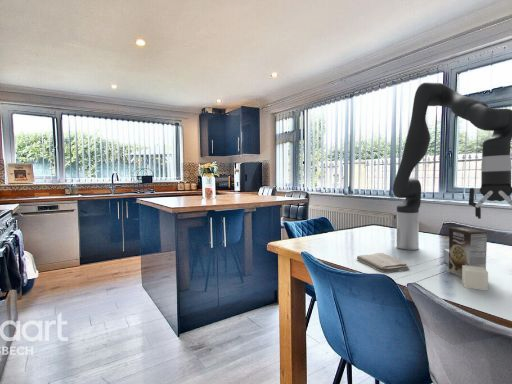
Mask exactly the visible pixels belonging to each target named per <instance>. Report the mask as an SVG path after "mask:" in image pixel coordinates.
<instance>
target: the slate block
mask: <svg viewBox="0 0 512 384" xmlns="http://www.w3.org/2000/svg"><path fill="white" fill-rule="evenodd" d="M443 262H444V263H446V264H447V265H449V248H448V249H447V248H444V249H443Z"/></svg>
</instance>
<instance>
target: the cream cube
mask: <svg viewBox="0 0 512 384" xmlns="http://www.w3.org/2000/svg"><path fill="white" fill-rule="evenodd" d="M461 282H462V285H463V286H464V288H466V289H476V290H481V291H488V290H489V288H488V285H489V283H488V282H489V272H488V271H487V269H486V270H485V268H484V267H476V266H466V265H462V277H461Z"/></svg>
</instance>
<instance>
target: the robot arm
mask: <svg viewBox="0 0 512 384" xmlns="http://www.w3.org/2000/svg"><path fill="white" fill-rule="evenodd" d="M437 106H438V107H445V108H448V109H450V110H451V112H452V113H453V114H454V115H455V116H457V117H459V118H462V119H464V120H465V121H468V122H470V123H471V124H472V125H473V126H474V127H476V128H477V129H479V130H482V131H486V132H488V131H489V132H490V131H491V132H492V131H493V132H492V136H491V137H490V138H487V139H484V141H483V142H482V147H481V148H482V151H481V152H482V153H481V154H482V157H481V167H480V170H481V178H480V179H481V183H480V185H481V186H480V188H476V187H471V188H470V189H469V195H468V196H469V197H468V205H469V206H471V207H474V208H475V209H474V210H475V211H474V212H475V214H474V215H475V217H476V218H477V219H479V220H481V219H482V207H481V206H482V205H483V204H484V203H485V202H486V201H489V202H503V201H505V202H507V203H508V204H509V205H510V206H511V207H512V198H511V197H510V196H511V195H512V160H511V159H512V158H511V142H512V109H511V108H497V107H496V108H495V107H494V108H493V107H489V105H488V104H487V103H486V102H484V101H480V100H477V99H475V98H473V97H469V96H467V95H464V94H461V93H459V92H457V91H455V90H454V89H453V88H451V87H450V86H448V85H446V84H445V83H441V82H422V83H420V84H419V86H417V88H416V91H415V93H414V97H413V104H412V110H411V111H412V112H411V117H410V118H411V119H410V123H409V128H408V131H407V136H406V139H405V142H404V147H403V152H402V156H401V160H400V163H399V167H398V170H397V172H396V175H395V178H394V180H393V181H394V182H393V185H392V194H393V195H394V196H395V198H398V199H404V201H403V202H402V203H400V204H398V205H397V206H396V249H402V250H409V251H410V250H411V251H412V250H413V251H414V250H418V249H419V244H420V242H419V236H420V235H419V224H420V223H419V222H420V221H419V219H420V217H419V216H420V215H419V212H420V211H419V210H420V207H421V204H422V203H421V200H422V185H421V182H420V181H419V179H418V178H413V177H411V174H412V172H413V171H414V169H415V168H416V166H417V165H418V164H419V163H420V162H421V161H422V160H423V159H424V157H425V156H426V155H427V153H428V149H429V146H430V142H431V134H430V130H429V128H428V123H427V112H428V107H437ZM478 193H480V194H481V195H482V196H483V197H482V198H481V199H480V200H478V202H475V195H477V194H478Z"/></svg>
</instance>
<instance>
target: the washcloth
mask: <svg viewBox="0 0 512 384" xmlns="http://www.w3.org/2000/svg"><path fill="white" fill-rule="evenodd" d="M357 259H358V261H359V260H360V261H359V262H361V261H362V262H361V263H363V262H364V264H365V265H367V266H370V267H371V268H373V267H374V268H373V269H375V268H376V269H375V270H377V269H378V270H377V271H379V270H380V271H379V272H381V271H382V272H381V273H393V272H400V271H399V270H403V271H408V270H410V268H409V266H408V264H407V263H406V262H404V261H402V260H401V258H396V257H394V256H391V255H389V254H387V253H384V252H379V253H378V252H375V253H372V254H361V255H360V254H359V255H357V256H356V260H357Z"/></svg>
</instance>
